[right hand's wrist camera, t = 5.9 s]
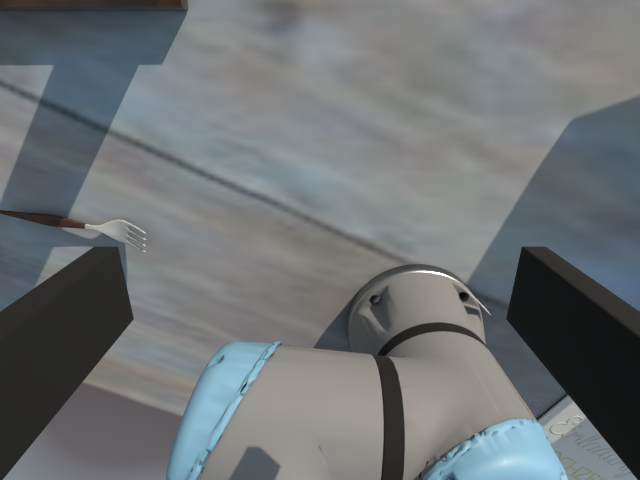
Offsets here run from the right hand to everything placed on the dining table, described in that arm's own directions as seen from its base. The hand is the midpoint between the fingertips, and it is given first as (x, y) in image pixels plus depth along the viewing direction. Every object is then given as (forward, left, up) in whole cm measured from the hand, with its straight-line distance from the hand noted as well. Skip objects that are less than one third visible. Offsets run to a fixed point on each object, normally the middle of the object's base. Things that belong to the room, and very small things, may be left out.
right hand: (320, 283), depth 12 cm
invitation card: (-44, -35, -27) cm, 62 cm away
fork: (-6, +26, -27) cm, 38 cm away
